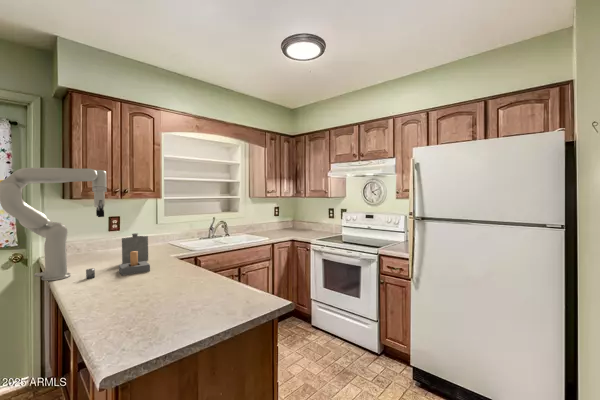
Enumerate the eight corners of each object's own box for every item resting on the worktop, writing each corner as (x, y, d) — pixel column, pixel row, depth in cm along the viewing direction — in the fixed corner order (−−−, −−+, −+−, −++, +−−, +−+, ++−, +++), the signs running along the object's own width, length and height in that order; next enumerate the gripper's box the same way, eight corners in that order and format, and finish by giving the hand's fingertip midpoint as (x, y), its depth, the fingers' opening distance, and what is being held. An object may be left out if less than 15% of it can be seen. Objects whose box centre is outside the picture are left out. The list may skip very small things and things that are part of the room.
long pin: (131, 272, 176) (130, 252, 176) (130, 270, 179) (129, 251, 179) (138, 271, 179) (138, 251, 178) (137, 269, 182) (137, 250, 181)
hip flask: (122, 264, 195) (121, 234, 194) (121, 263, 198) (121, 234, 197) (148, 260, 204) (148, 232, 204) (147, 259, 208) (147, 232, 207)
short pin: (86, 279, 162) (86, 270, 162) (86, 277, 165) (85, 269, 165) (95, 278, 164) (94, 269, 164) (94, 276, 168) (94, 268, 167)
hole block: (121, 275, 169) (121, 268, 169) (118, 271, 179) (118, 264, 178) (150, 270, 179) (149, 264, 179) (145, 267, 188) (145, 260, 188)
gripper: (91, 189, 188) (91, 215, 189) (93, 189, 175) (94, 217, 175) (105, 189, 193) (105, 215, 193) (108, 189, 179) (108, 217, 180)
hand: (100, 216), depth 184 cm, fingers open, 9 cm apart
